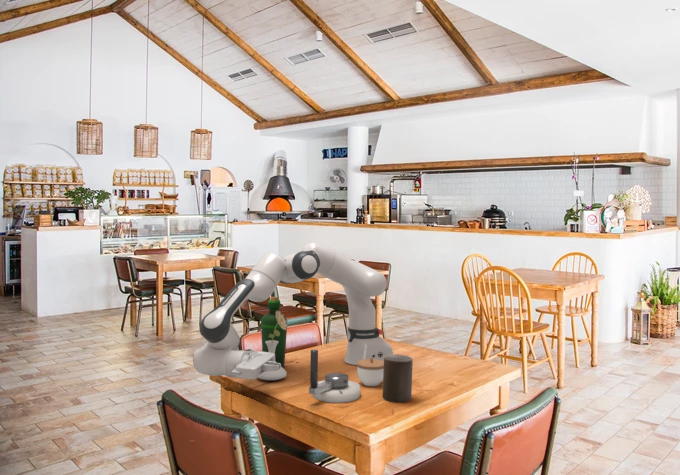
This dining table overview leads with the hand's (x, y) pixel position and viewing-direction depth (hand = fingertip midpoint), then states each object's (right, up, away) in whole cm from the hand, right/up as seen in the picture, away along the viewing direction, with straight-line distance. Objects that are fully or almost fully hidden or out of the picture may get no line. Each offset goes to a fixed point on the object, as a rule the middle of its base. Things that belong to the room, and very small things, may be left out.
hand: (279, 367), depth 190 cm
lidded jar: (+31, -11, +21) cm, 39 cm away
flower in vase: (-5, -10, +26) cm, 28 cm away
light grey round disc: (+19, -11, +7) cm, 23 cm away
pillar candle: (+39, -12, +5) cm, 41 cm away
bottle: (-7, -9, +40) cm, 42 cm away
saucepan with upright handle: (+16, -8, +4) cm, 18 cm away
